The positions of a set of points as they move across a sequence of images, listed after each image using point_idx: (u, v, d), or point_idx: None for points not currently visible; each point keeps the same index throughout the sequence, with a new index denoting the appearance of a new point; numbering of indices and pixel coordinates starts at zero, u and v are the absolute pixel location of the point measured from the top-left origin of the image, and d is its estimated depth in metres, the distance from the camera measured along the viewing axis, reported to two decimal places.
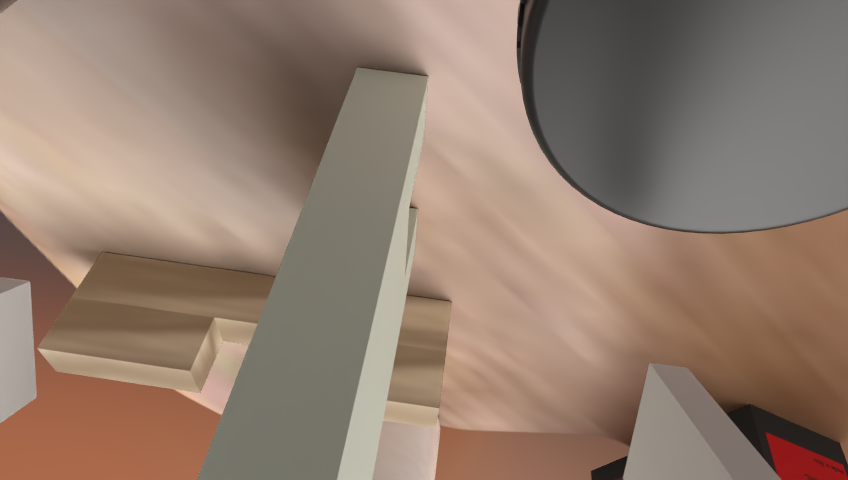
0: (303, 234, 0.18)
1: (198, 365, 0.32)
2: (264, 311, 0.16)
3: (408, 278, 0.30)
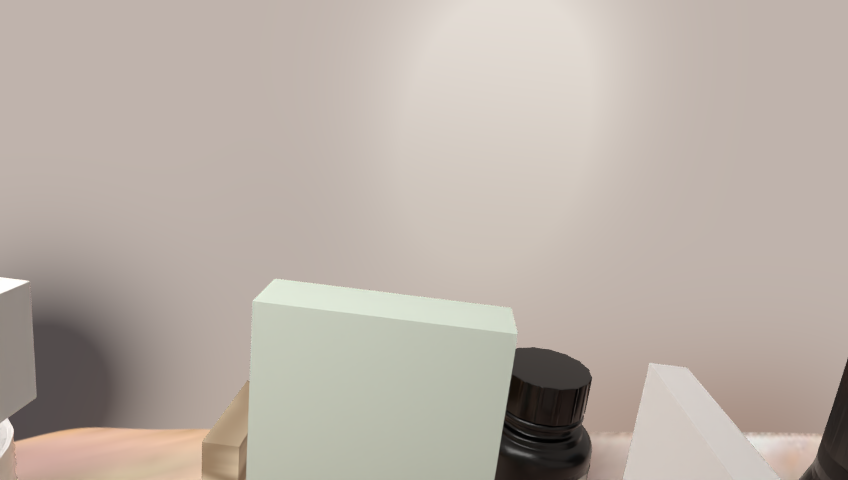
0: None
1: (228, 455, 0.38)
2: None
3: None
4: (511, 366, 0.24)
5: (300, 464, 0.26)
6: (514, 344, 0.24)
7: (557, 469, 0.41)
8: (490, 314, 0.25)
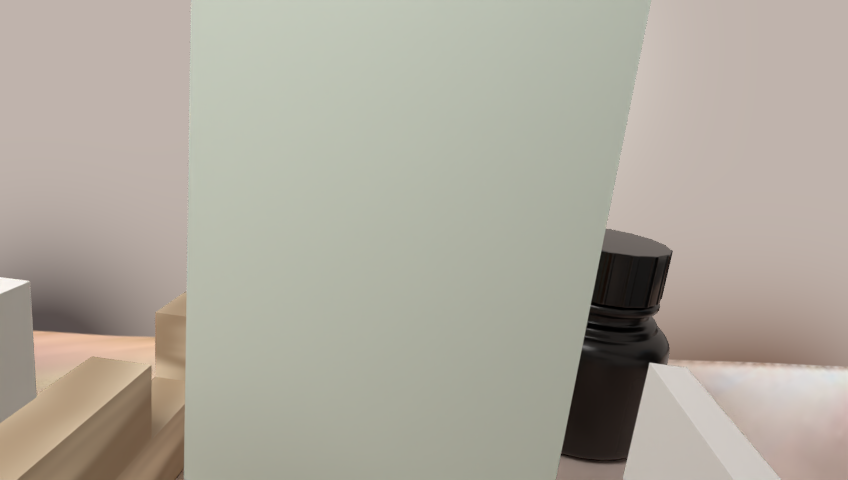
0: None
1: None
2: None
3: None
4: (639, 47, 0.14)
5: (276, 242, 0.15)
6: (647, 4, 0.14)
7: (630, 364, 0.31)
8: None
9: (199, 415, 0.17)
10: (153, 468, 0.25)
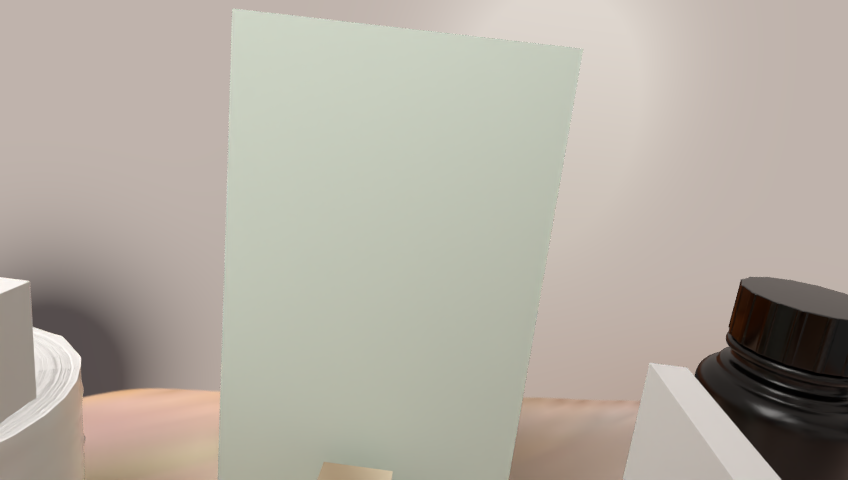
0: None
1: None
2: None
3: None
4: (573, 96, 0.18)
5: (295, 245, 0.20)
6: (577, 64, 0.18)
7: None
8: None
9: (232, 384, 0.21)
10: None
